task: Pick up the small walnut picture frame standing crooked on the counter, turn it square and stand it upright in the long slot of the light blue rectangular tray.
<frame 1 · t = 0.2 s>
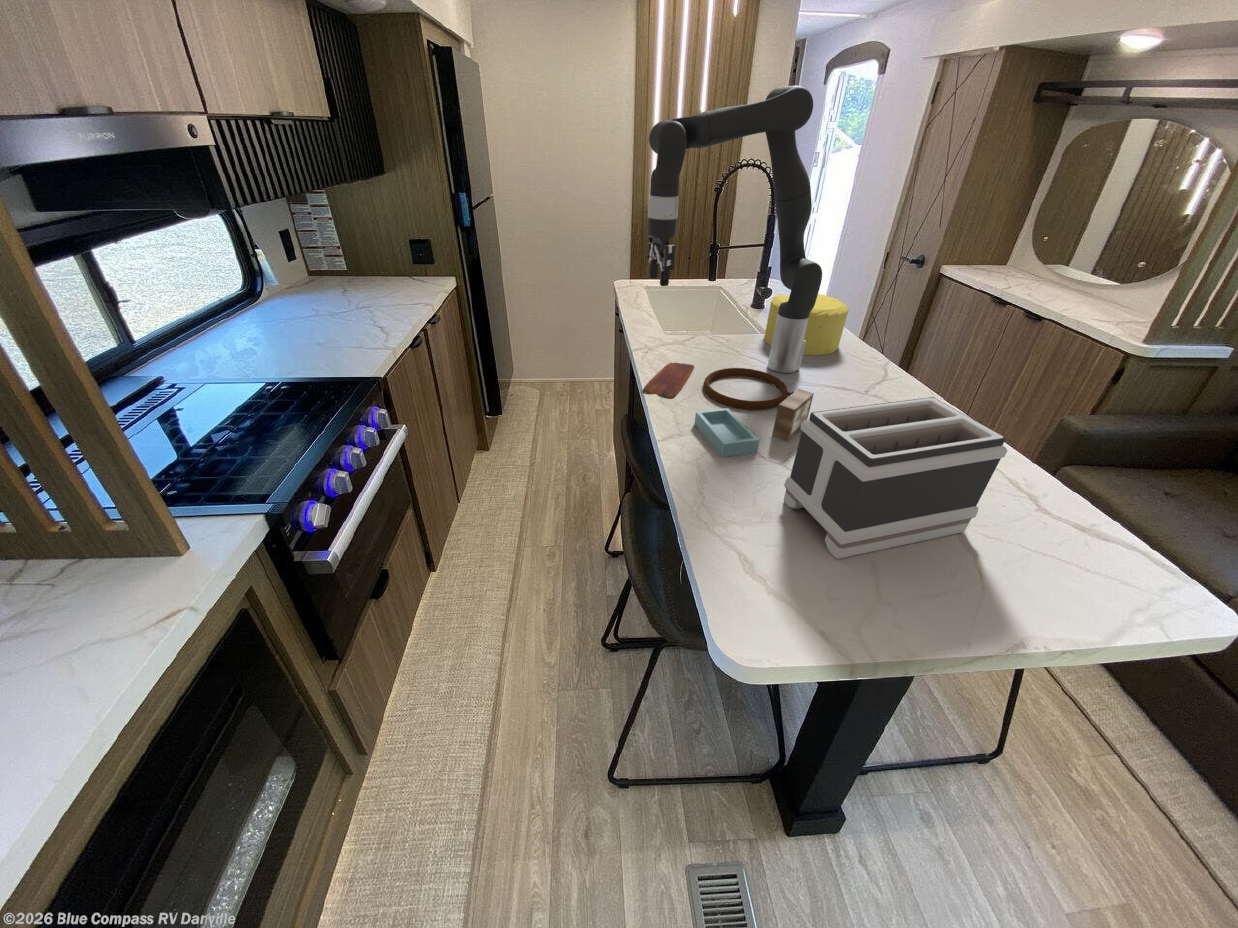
hand: (658, 281, 138), 29 cm above the countertop, tool pointing down, fingers open, 8 cm apart
cheese: (800, 342, 187), on the countertop
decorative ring: (754, 395, 150), on the countertop
toaster: (878, 516, 103), on the countertop
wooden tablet: (671, 381, 157), on the countertop
picture frame: (789, 430, 131), on the countertop
light blue rectangular tray: (724, 437, 127), on the countertop
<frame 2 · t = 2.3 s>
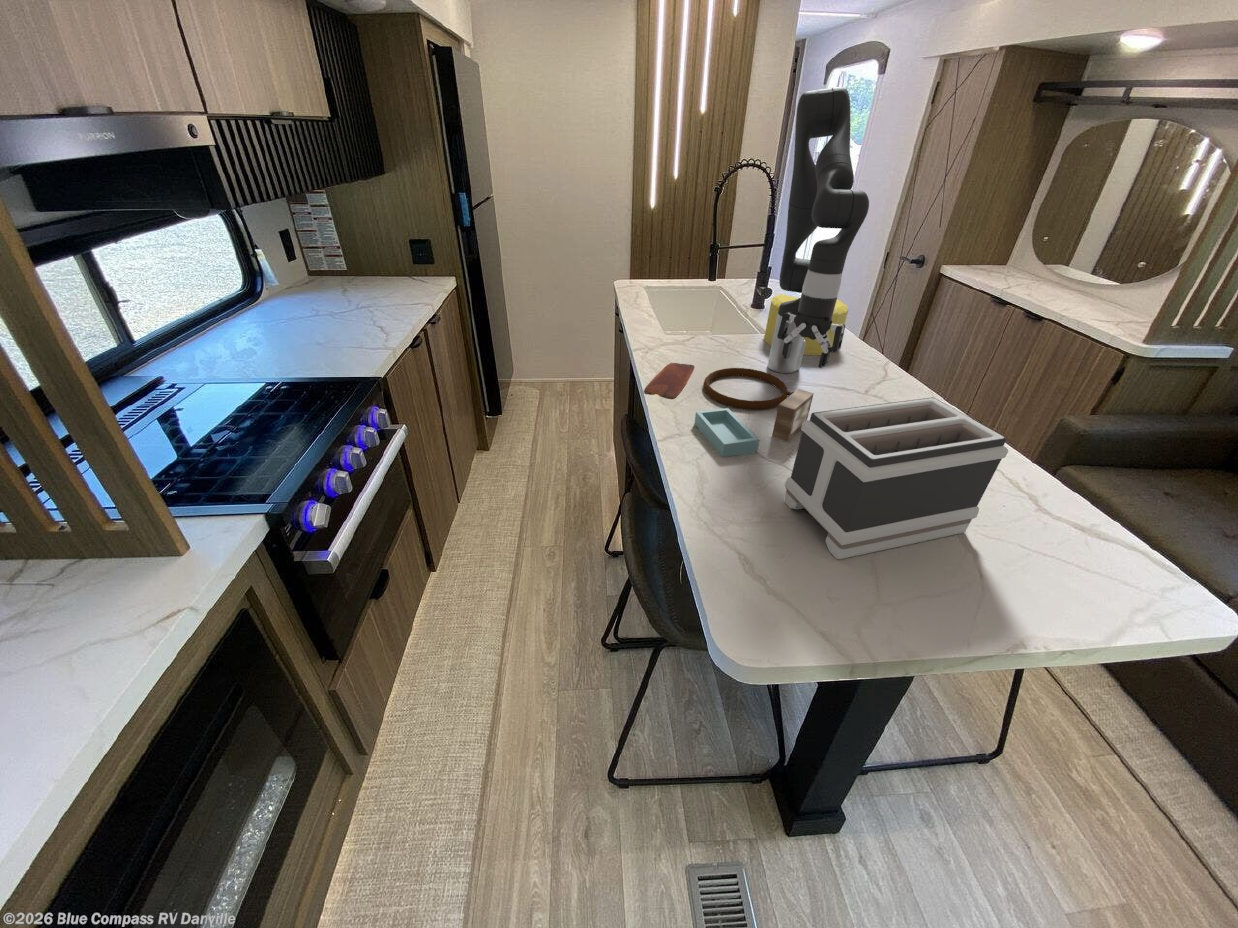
hand: (803, 362, 121), 18 cm above the countertop, tool pointing down, fingers open, 8 cm apart
nothing on the countertop moved.
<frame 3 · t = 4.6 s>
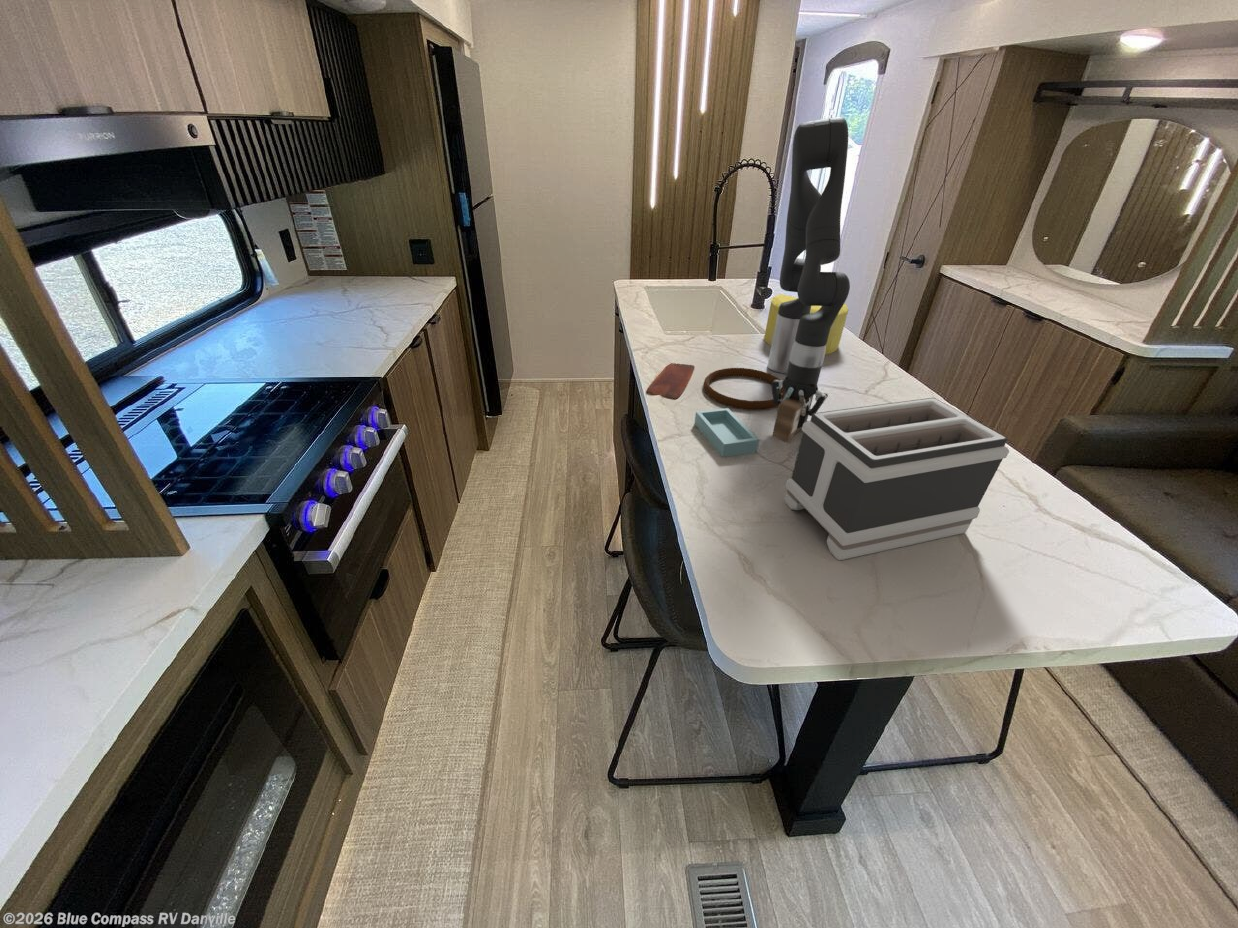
hand: (790, 423, 130), 2 cm above the countertop, tool pointing down, fingers closed on picture frame, 4 cm apart
picture frame: (789, 430, 131), on the countertop, touching gripper
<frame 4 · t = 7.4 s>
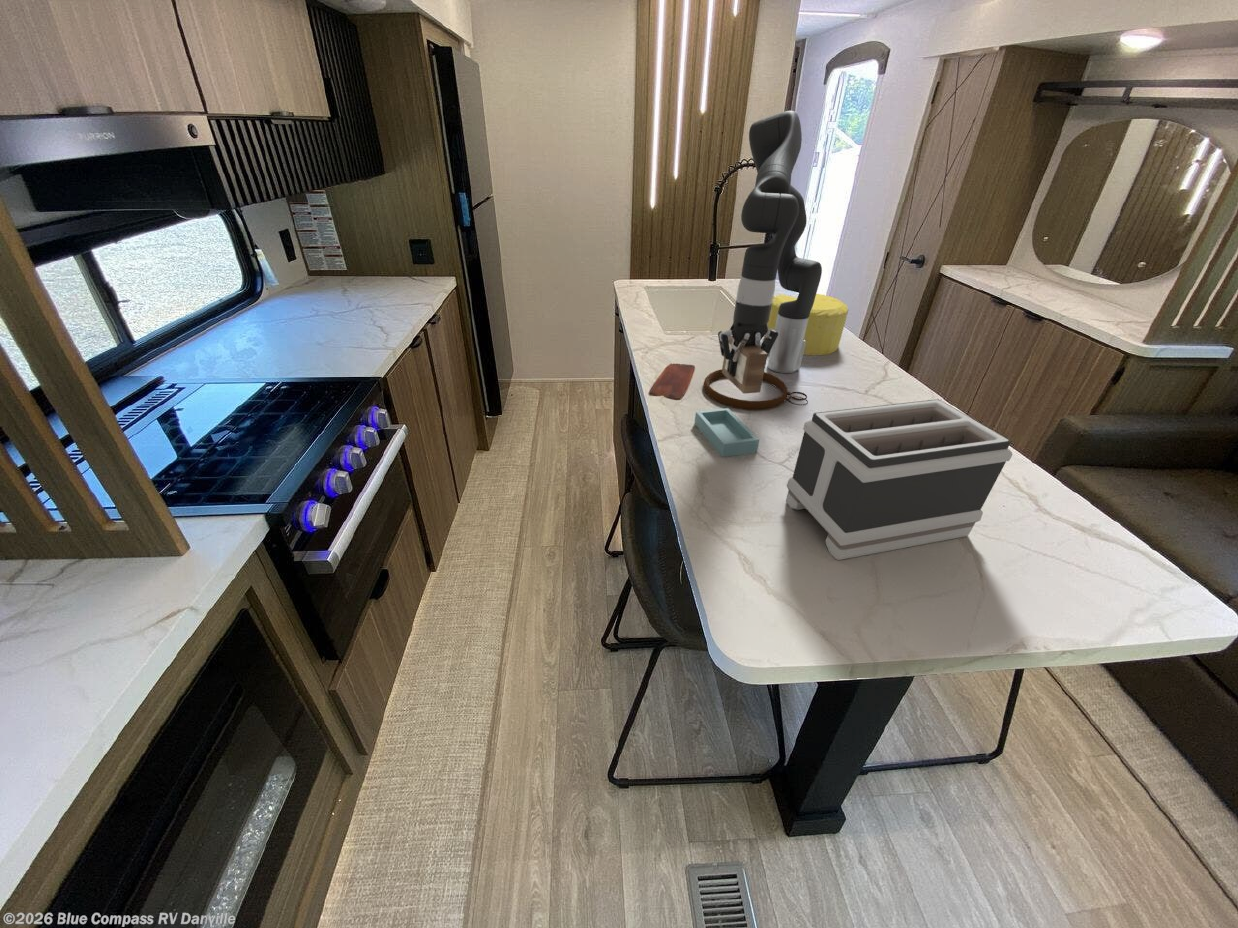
hand: (741, 374, 118), 17 cm above the countertop, tool pointing down, fingers closed on picture frame, 4 cm apart
picture frame: (740, 382, 119), point 15 cm above the countertop, touching gripper
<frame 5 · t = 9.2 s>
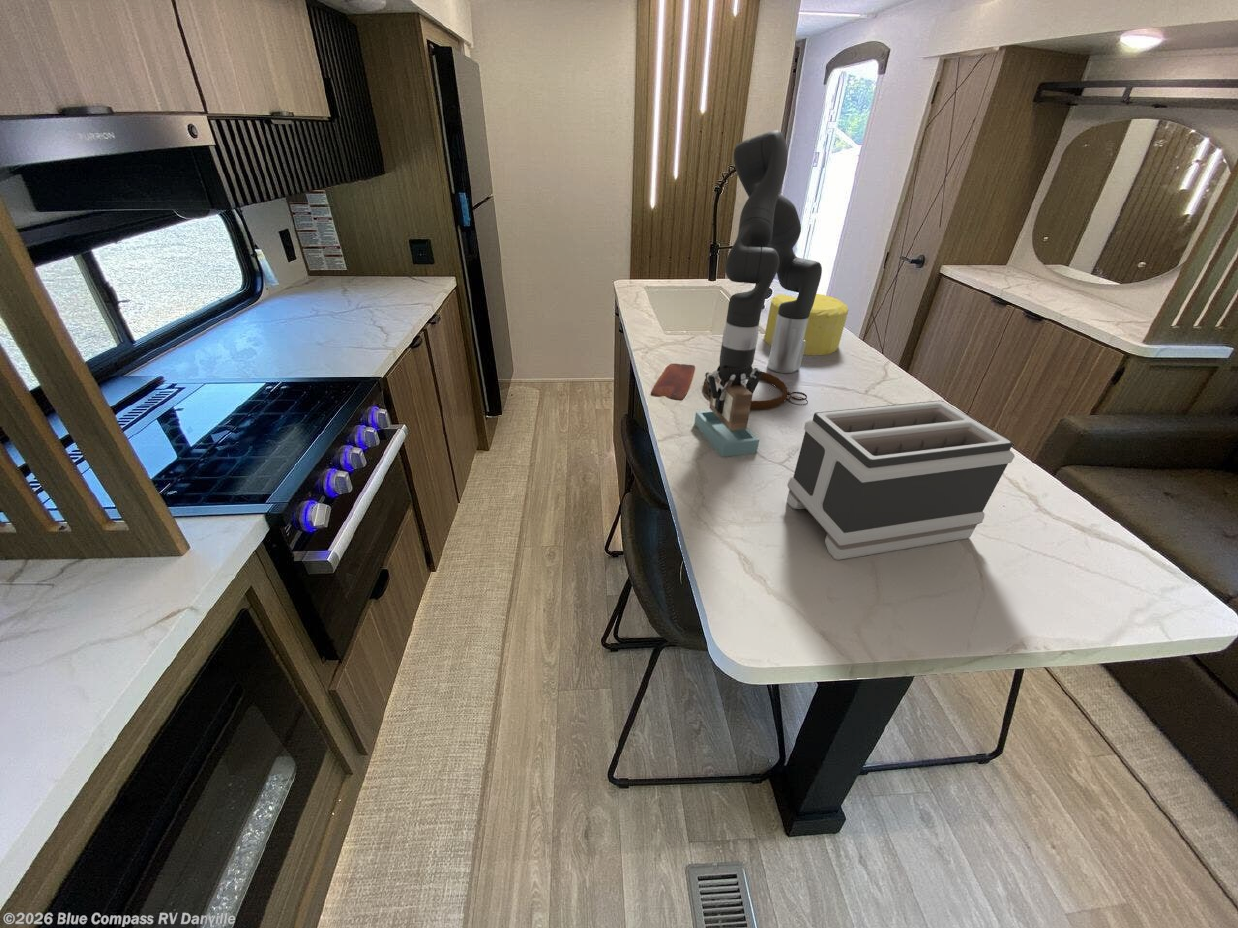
hand: (728, 411, 123), 7 cm above the countertop, tool pointing down, fingers closed on picture frame, 4 cm apart
picture frame: (727, 418, 124), point 5 cm above the countertop, touching gripper
when the fingers open (5 cm above the countertop, at t = 10.5 s): picture frame drops 2 cm, resting on light blue rectangular tray.
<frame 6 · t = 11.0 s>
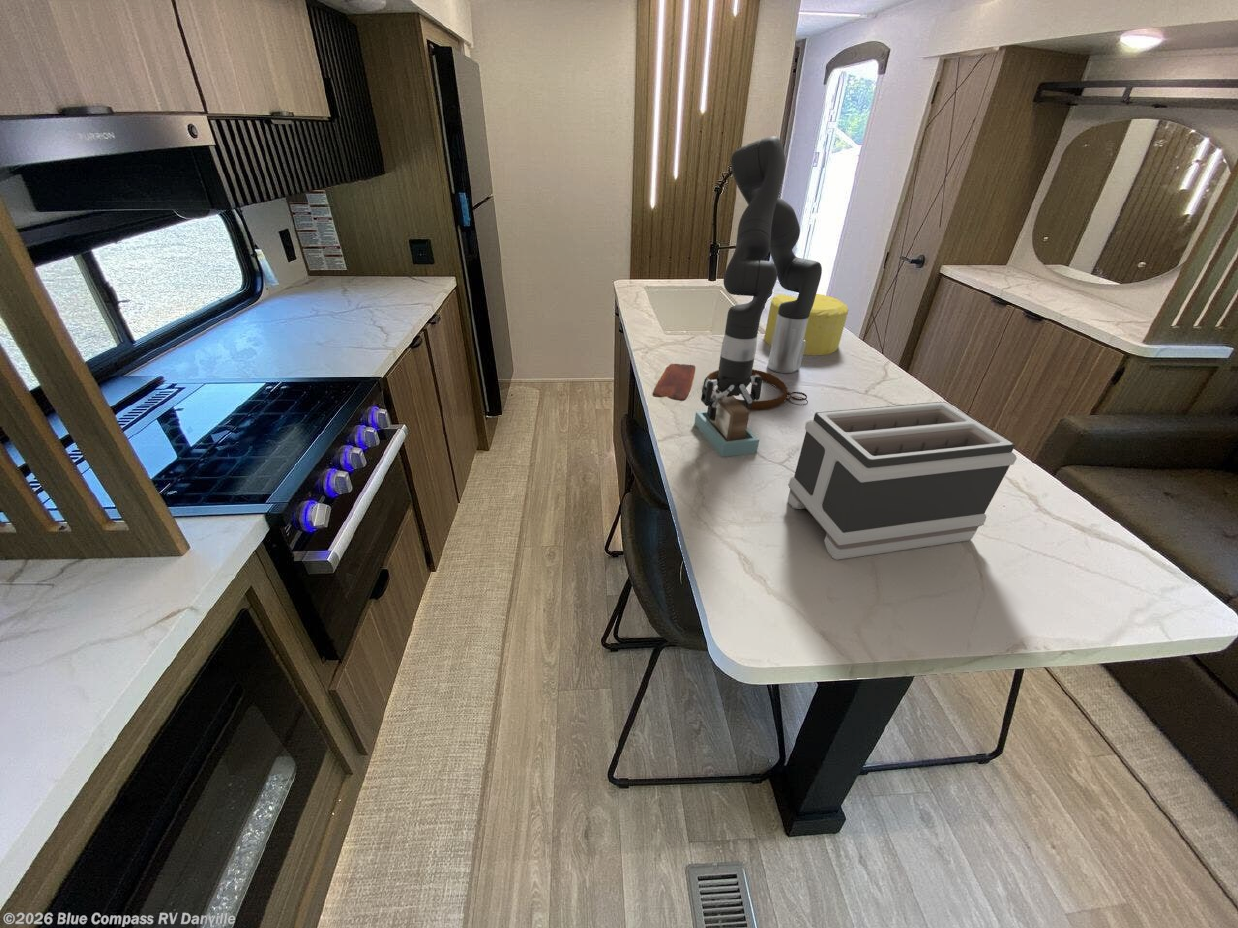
hand: (727, 417, 124), 6 cm above the countertop, tool pointing down, fingers open, 8 cm apart
picture frame: (724, 433, 127), point 1 cm above the countertop, touching light blue rectangular tray
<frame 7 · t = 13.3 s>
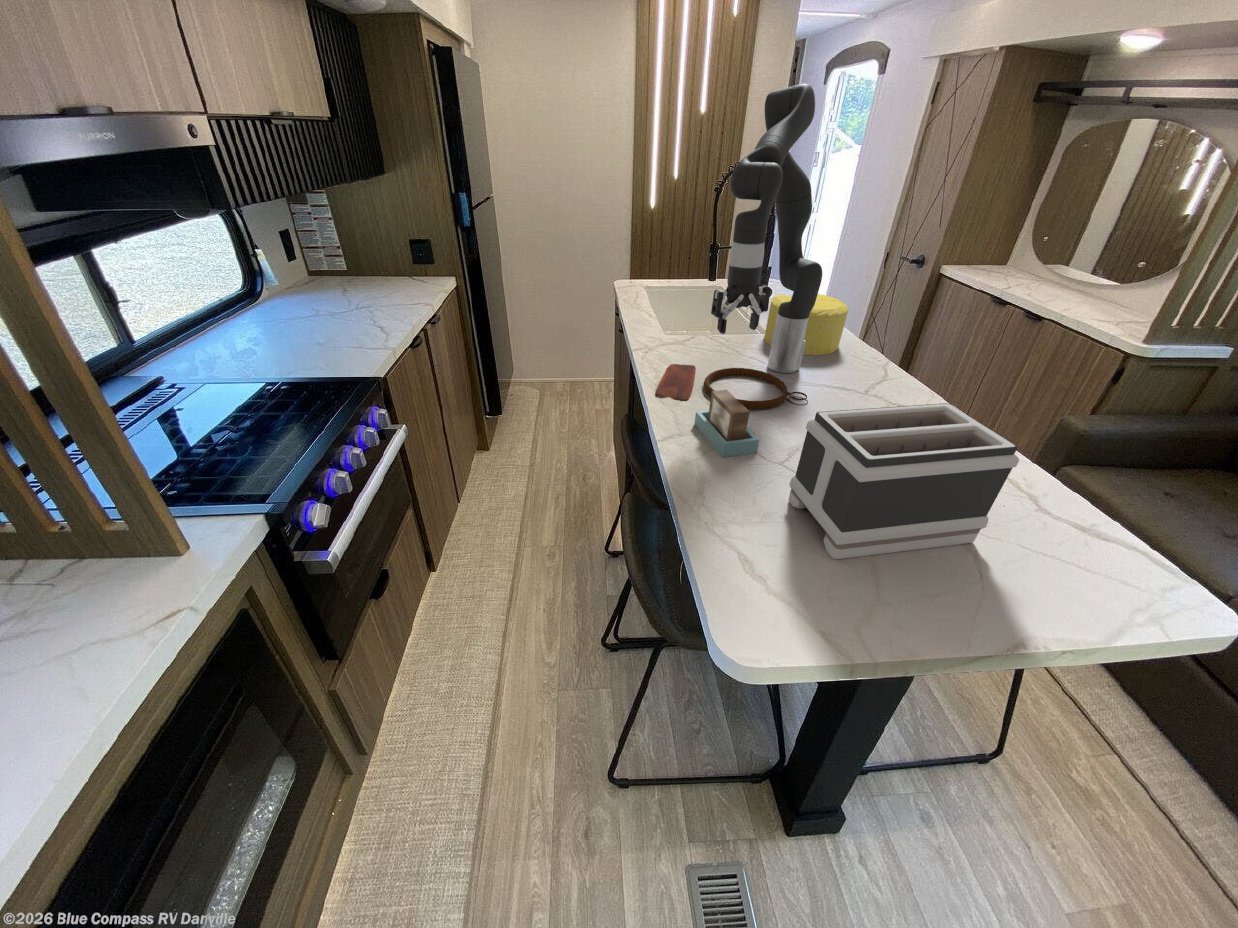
hand: (737, 330, 127), 22 cm above the countertop, tool pointing down, fingers open, 8 cm apart
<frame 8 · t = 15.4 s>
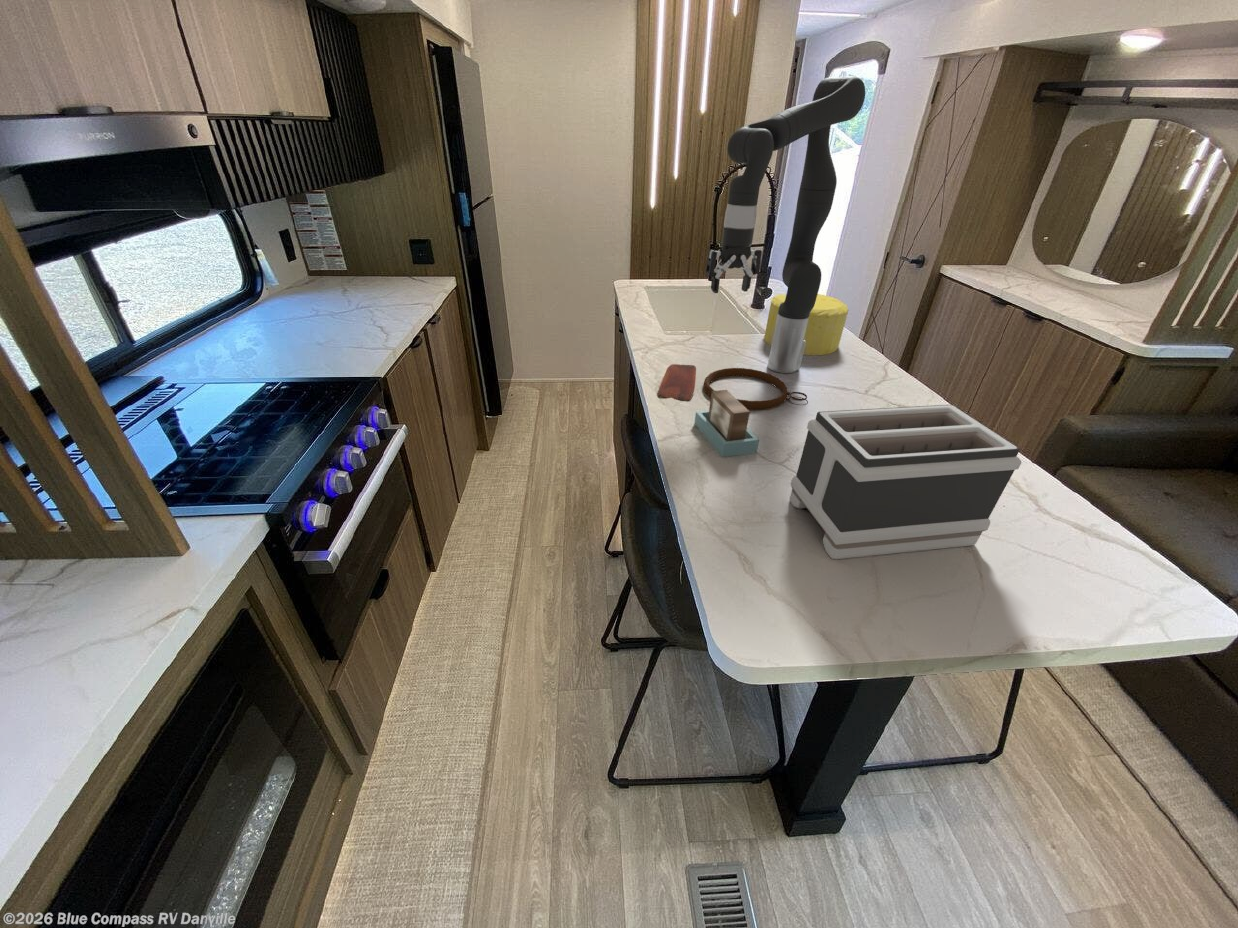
hand: (729, 291, 135), 28 cm above the countertop, tool pointing down, fingers open, 8 cm apart
at the end: picture frame 0.0 cm off-centre on the light blue rectangular tray, point 1.0 cm above the light blue rectangular tray's base; picture frame tilted 0°; the gripper is holding nothing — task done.
